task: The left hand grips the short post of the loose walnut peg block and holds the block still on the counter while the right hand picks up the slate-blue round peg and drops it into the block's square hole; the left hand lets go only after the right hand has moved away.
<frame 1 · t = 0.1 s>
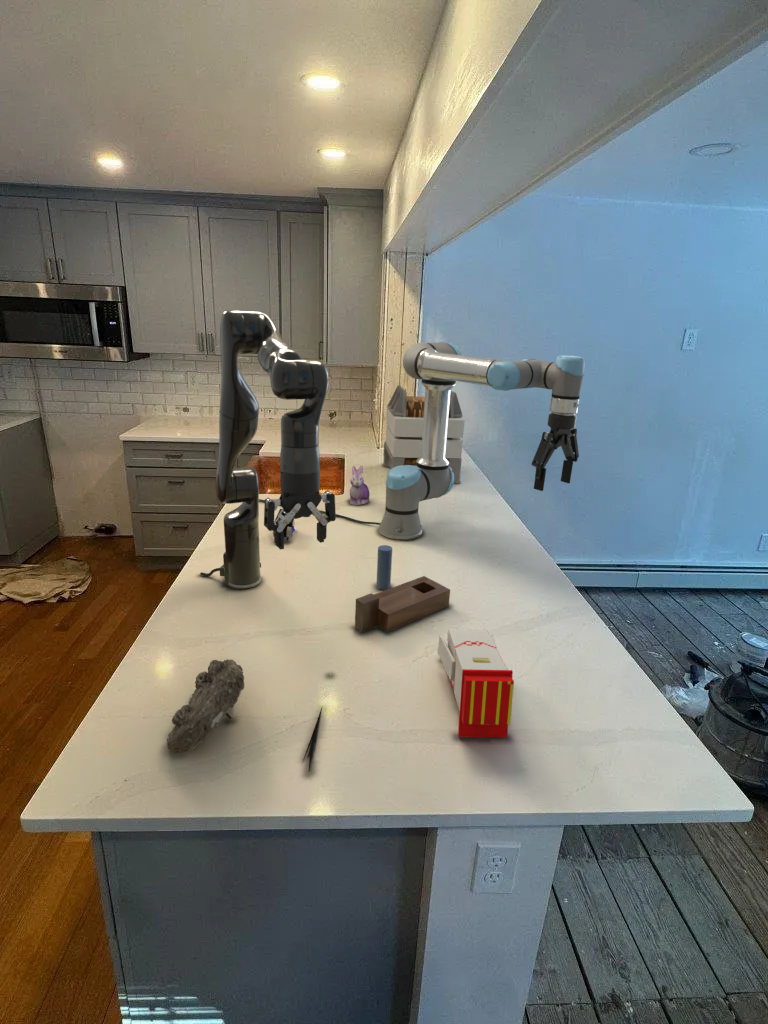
left hand: (300, 544, 114), 29 cm above the counter, fingers open, 8 cm apart
right hand: (552, 485, 166), 28 cm above the counter, fingers open, 13 cm apart
figurine: (358, 502, 230), on the counter
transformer: (419, 473, 275), on the counter
peg block: (406, 610, 149), on the counter
toy: (469, 691, 119), on the counter
fossil: (212, 717, 108), on the counter
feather: (319, 719, 109), on the counter
figurine character: (285, 536, 194), on the counter
peg: (383, 586, 162), on the counter
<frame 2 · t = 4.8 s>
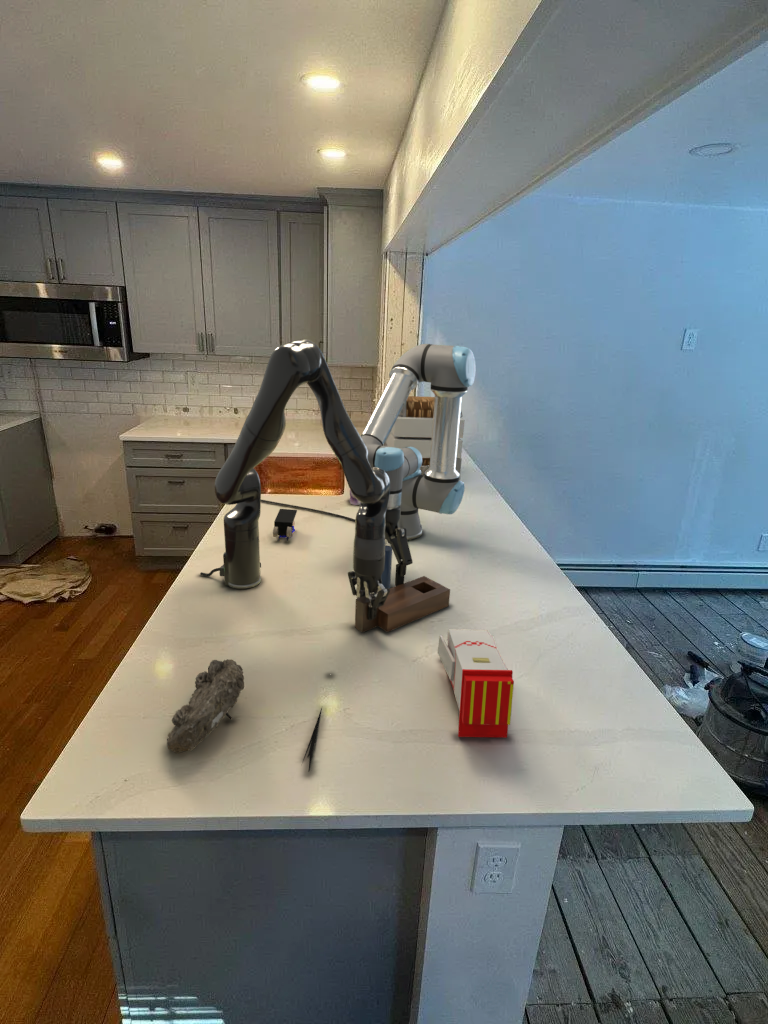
left hand: (366, 615, 140), 3 cm above the counter, fingers closed on peg block, 3 cm apart
right hand: (383, 576, 161), 3 cm above the counter, fingers open, 12 cm apart
peg block: (406, 610, 149), on the counter, touching left hand
everything else where it was.
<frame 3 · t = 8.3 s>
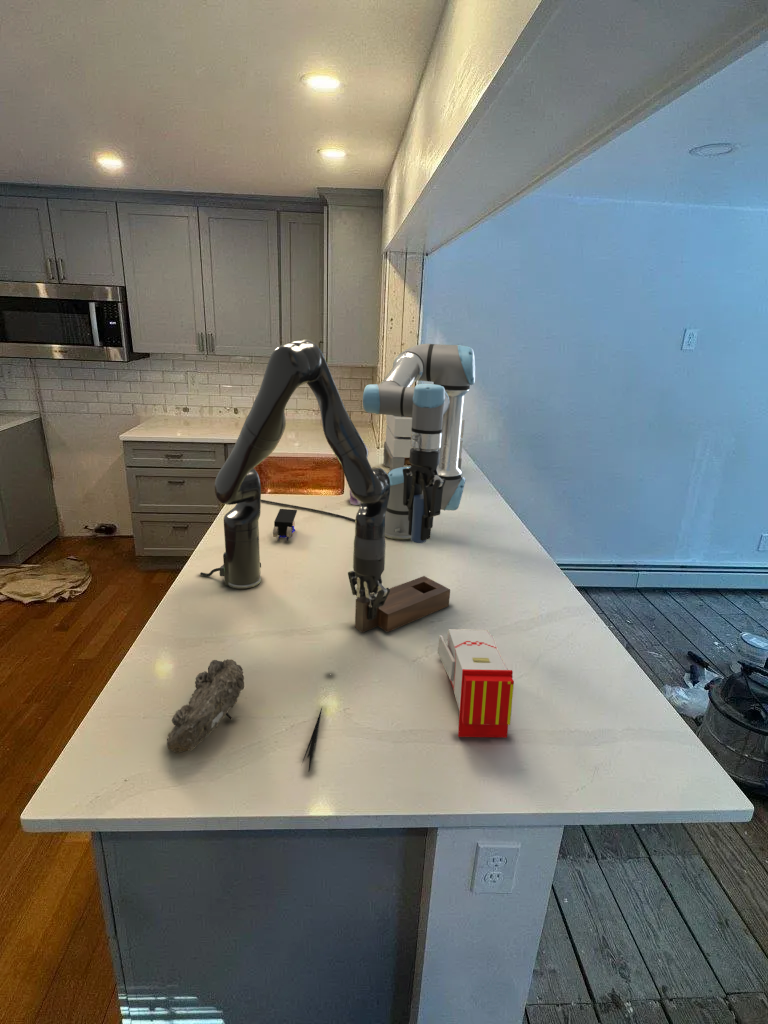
left hand: (367, 615, 140), 3 cm above the counter, fingers closed on peg block, 3 cm apart
right hand: (419, 536, 148), 19 cm above the counter, fingers closed on peg, 4 cm apart
peg block: (406, 610, 149), on the counter, touching left hand
peg: (418, 540, 148), point 18 cm above the counter, touching right hand
everything else where it was.
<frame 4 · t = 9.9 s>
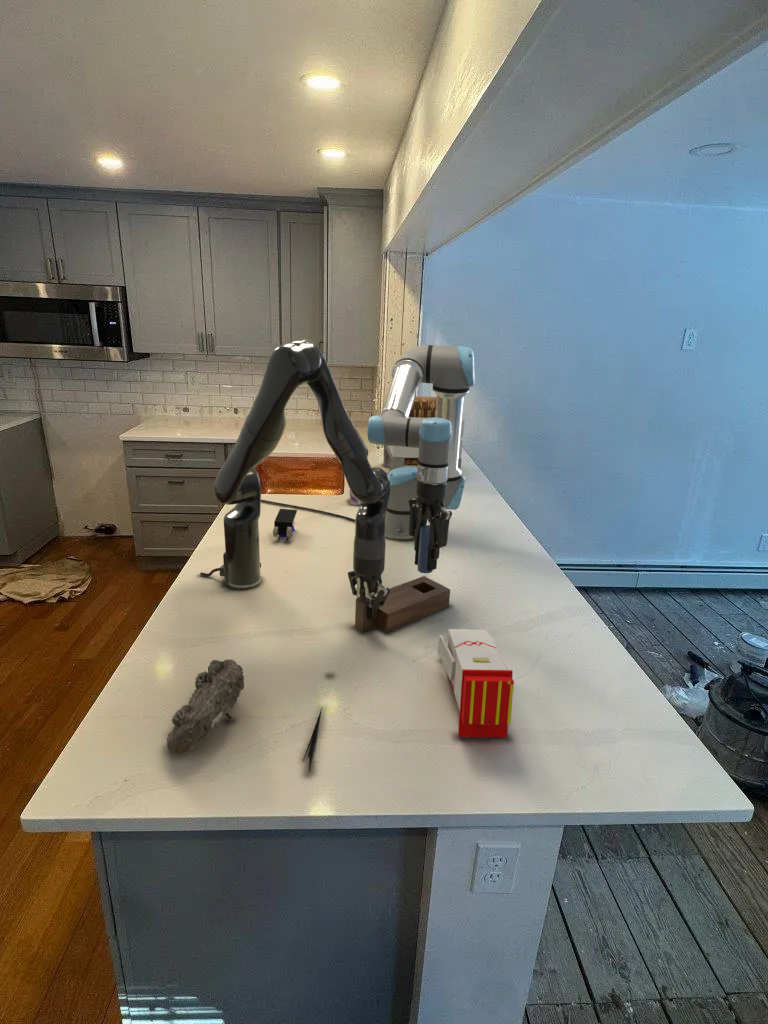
left hand: (367, 615, 140), 3 cm above the counter, fingers closed on peg block, 3 cm apart
right hand: (425, 566, 149), 11 cm above the counter, fingers closed on peg, 4 cm apart
peg block: (406, 610, 149), on the counter, touching left hand
peg: (424, 570, 149), point 10 cm above the counter, touching right hand
everything else where it was.
when the right hand's fingers open (7 cm above the counter, at t = 11.0 s): peg drops 5 cm, resting in peg block.
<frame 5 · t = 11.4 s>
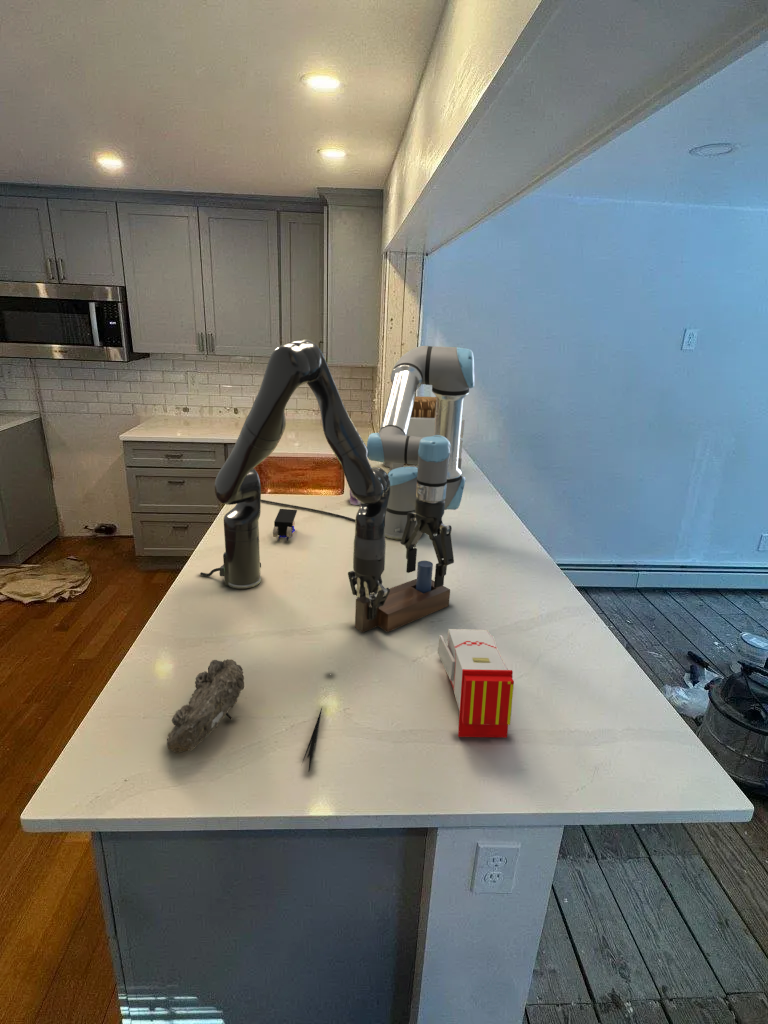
left hand: (367, 615, 140), 3 cm above the counter, fingers closed on peg block, 3 cm apart
right hand: (424, 578, 150), 8 cm above the counter, fingers open, 10 cm apart
peg block: (406, 610, 149), on the counter, touching left hand
peg: (422, 604, 153), resting in peg block
everything else where it was.
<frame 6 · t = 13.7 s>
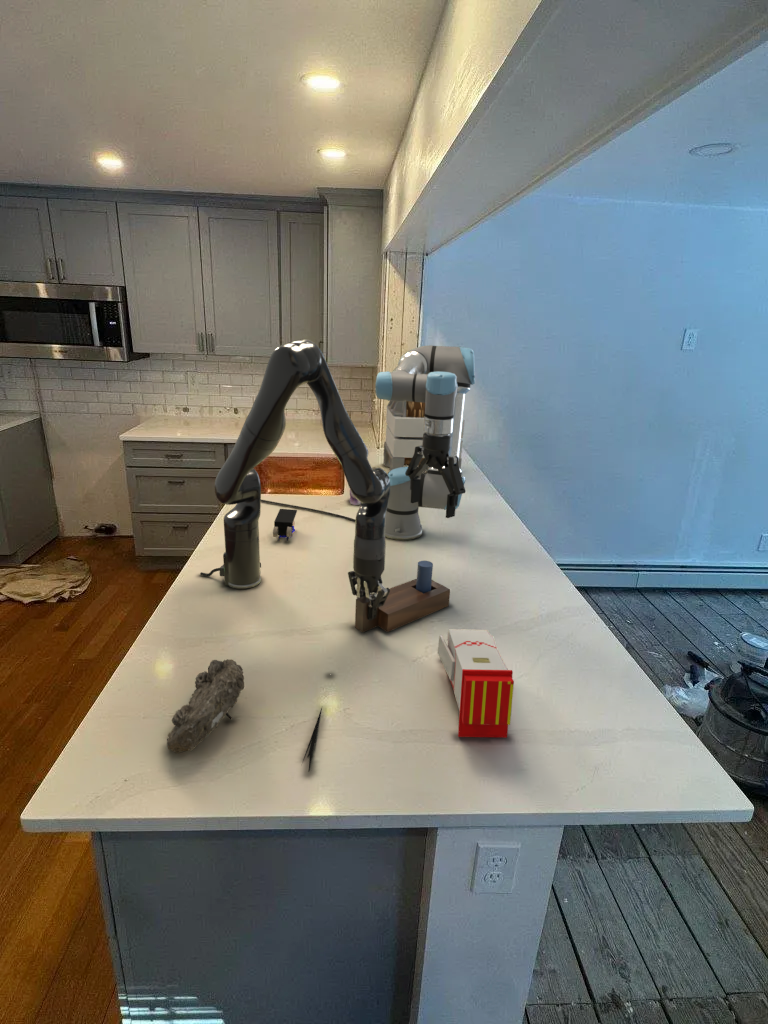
left hand: (367, 615, 140), 3 cm above the counter, fingers closed on peg block, 3 cm apart
right hand: (431, 509, 155), 23 cm above the counter, fingers open, 13 cm apart
peg block: (406, 610, 149), on the counter, touching left hand
everything else where it was.
when the left hand's fingers open (3 cm above the counter, at t = 15.1 s): peg block stays where it is, on the counter.
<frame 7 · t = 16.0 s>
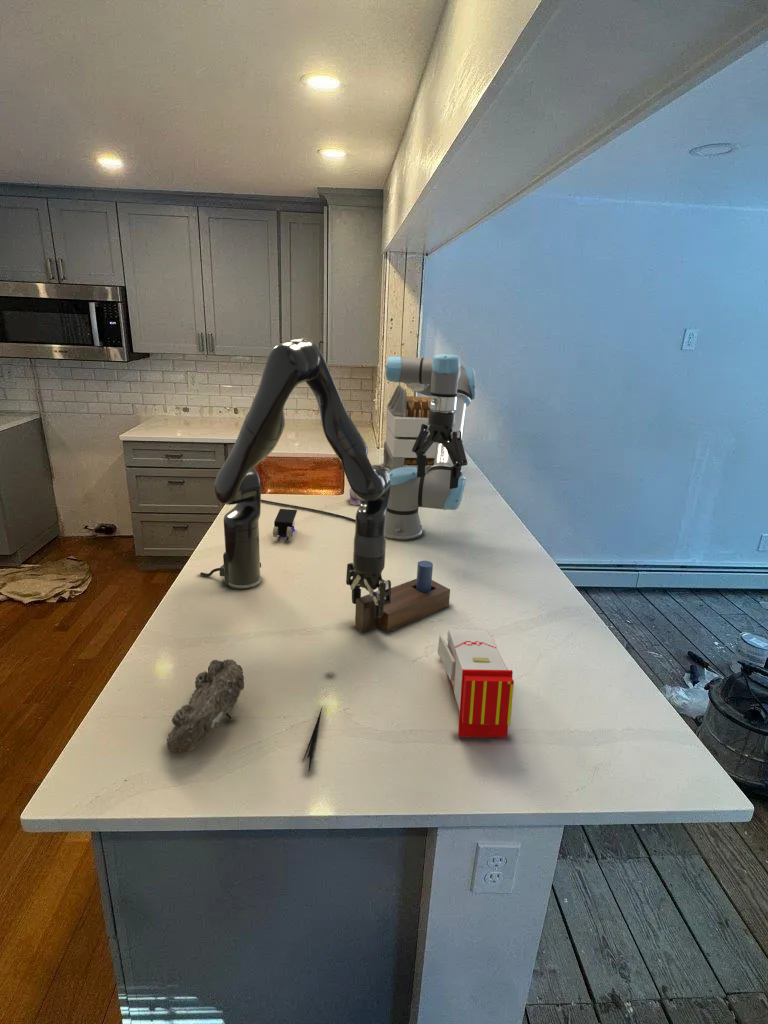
left hand: (367, 609, 139), 5 cm above the counter, fingers open, 8 cm apart
right hand: (436, 482, 168), 27 cm above the counter, fingers open, 13 cm apart
peg block: (406, 610, 149), on the counter
everything else where it was.
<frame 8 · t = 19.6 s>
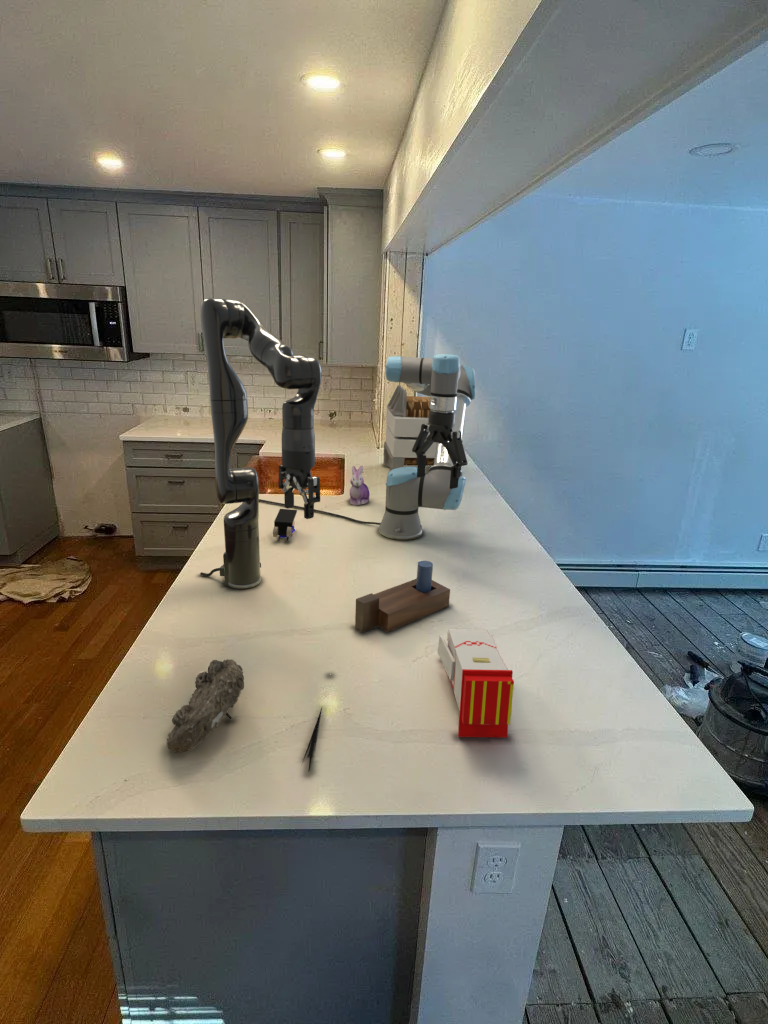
left hand: (298, 512, 135), 28 cm above the counter, fingers open, 8 cm apart
right hand: (436, 482, 168), 27 cm above the counter, fingers open, 13 cm apart
nothing on the counter moved.
at the end: peg 0.1 cm from the target spot, resting in peg block; peg block moved 0.1 cm from its start; the left hand is holding nothing; the right hand is holding nothing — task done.
